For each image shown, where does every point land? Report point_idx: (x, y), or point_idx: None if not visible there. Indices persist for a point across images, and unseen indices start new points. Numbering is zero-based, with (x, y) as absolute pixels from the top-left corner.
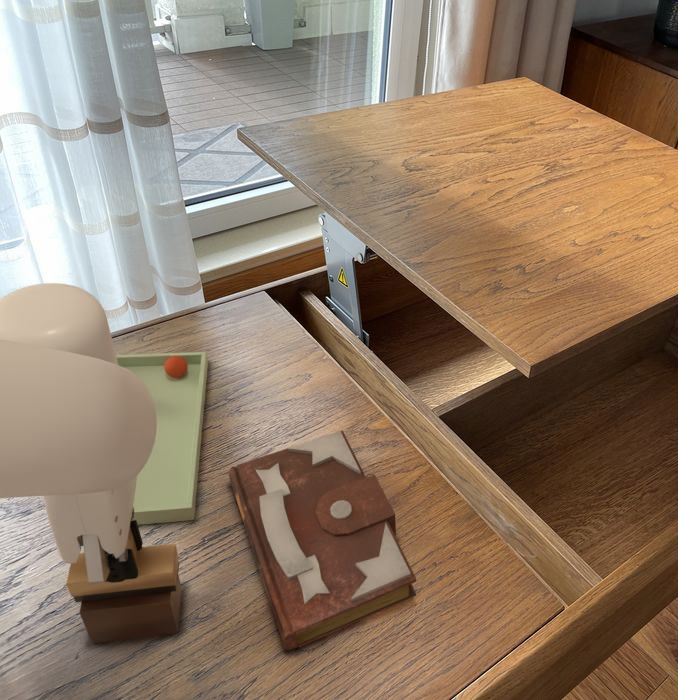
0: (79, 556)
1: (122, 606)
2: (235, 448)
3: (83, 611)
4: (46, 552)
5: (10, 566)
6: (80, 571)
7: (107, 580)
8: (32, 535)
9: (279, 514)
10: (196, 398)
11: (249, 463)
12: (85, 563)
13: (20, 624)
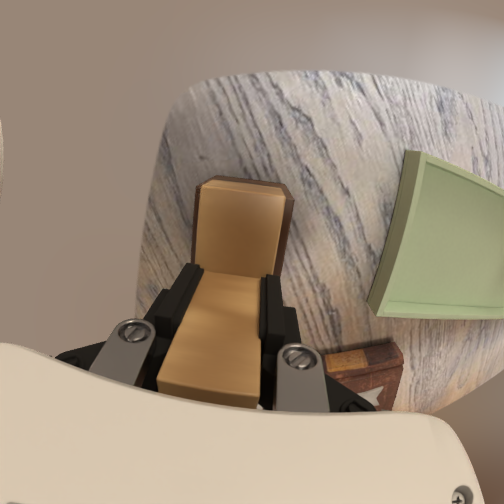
0: (273, 212)
1: (192, 255)
2: (433, 339)
3: (196, 193)
4: (380, 119)
5: (368, 76)
6: (228, 215)
7: (163, 290)
8: (409, 106)
9: None
10: (498, 304)
11: (397, 379)
12: (248, 226)
13: (271, 85)
